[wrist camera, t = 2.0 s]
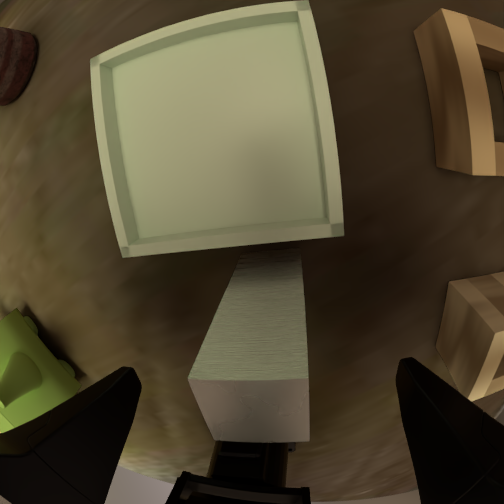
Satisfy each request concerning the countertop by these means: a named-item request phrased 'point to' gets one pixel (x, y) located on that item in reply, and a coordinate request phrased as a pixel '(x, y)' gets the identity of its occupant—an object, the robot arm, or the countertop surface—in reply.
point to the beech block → (474, 334)
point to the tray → (218, 133)
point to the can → (15, 62)
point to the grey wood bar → (257, 354)
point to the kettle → (29, 374)
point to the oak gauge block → (462, 90)
